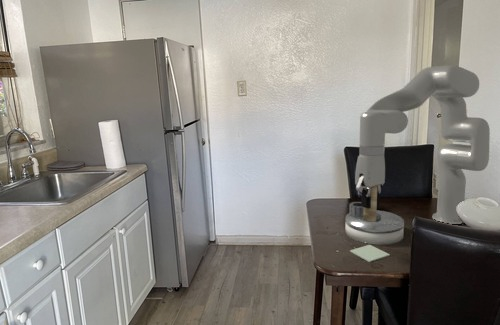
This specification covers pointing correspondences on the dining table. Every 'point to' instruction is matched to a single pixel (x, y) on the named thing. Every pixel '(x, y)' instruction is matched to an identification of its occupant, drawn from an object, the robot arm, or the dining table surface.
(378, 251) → the mat
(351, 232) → the chuck base
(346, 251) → the dining table surface
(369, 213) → the beige cylinder
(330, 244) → the dining table surface
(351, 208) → the chuck collar
